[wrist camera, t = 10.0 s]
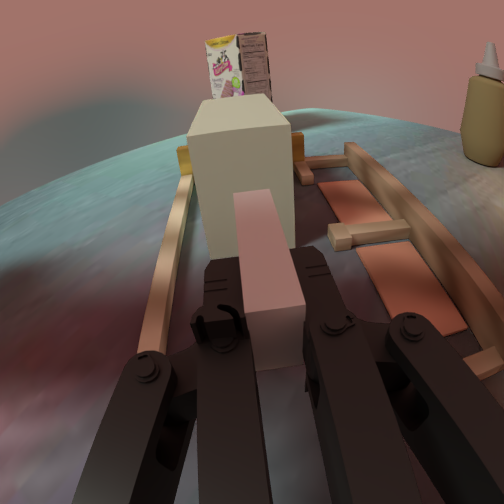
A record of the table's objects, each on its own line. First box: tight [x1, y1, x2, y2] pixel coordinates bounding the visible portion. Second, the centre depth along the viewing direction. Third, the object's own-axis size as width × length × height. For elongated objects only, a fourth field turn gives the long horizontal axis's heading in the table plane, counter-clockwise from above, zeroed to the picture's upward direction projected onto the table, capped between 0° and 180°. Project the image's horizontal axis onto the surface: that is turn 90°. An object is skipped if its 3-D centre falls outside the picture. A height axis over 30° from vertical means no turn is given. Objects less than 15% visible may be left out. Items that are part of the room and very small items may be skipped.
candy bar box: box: [205, 32, 272, 102], centre depth 43 cm, size 11×5×16 cm, turn 31°
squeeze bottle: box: [460, 42, 504, 167], centre depth 30 cm, size 8×8×18 cm
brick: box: [186, 93, 295, 259], centre depth 25 cm, size 14×6×9 cm, turn 5°
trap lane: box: [137, 132, 504, 381], centre depth 22 cm, size 28×20×4 cm
